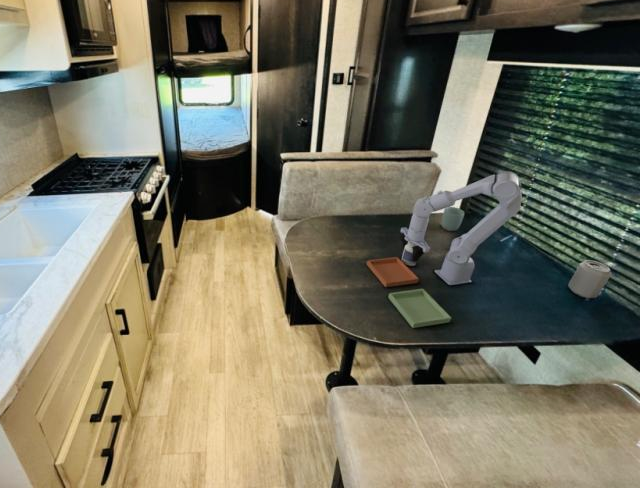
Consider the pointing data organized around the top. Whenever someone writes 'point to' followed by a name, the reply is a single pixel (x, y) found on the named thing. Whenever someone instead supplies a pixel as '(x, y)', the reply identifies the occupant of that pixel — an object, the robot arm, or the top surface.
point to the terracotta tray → (392, 272)
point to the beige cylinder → (589, 279)
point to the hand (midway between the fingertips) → (409, 256)
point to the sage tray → (419, 308)
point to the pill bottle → (408, 254)
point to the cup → (452, 218)
